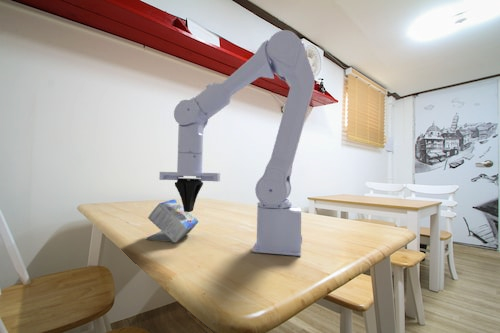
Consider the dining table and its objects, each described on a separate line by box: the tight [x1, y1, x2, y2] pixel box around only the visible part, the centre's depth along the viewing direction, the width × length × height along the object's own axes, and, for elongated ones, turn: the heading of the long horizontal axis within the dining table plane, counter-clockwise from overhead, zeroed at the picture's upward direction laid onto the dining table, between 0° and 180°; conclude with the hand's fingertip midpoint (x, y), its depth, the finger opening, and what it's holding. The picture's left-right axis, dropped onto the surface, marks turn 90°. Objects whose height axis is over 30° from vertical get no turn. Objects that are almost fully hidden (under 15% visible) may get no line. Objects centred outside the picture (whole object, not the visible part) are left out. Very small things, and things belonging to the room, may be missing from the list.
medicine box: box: [147, 199, 199, 244], centre depth 53 cm, size 8×4×9 cm
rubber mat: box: [146, 230, 174, 243], centre depth 55 cm, size 6×7×1 cm
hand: (188, 211), depth 53 cm, fingers closed
